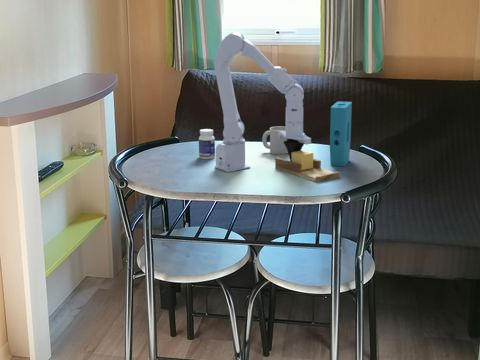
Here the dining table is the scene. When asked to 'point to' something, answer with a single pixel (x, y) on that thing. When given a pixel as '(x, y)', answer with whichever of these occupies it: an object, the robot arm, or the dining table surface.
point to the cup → (275, 141)
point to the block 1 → (303, 159)
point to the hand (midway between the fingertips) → (293, 161)
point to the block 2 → (340, 133)
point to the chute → (306, 170)
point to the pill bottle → (206, 144)
